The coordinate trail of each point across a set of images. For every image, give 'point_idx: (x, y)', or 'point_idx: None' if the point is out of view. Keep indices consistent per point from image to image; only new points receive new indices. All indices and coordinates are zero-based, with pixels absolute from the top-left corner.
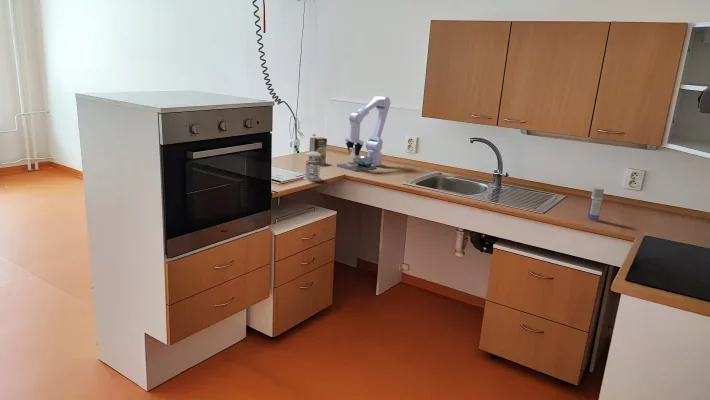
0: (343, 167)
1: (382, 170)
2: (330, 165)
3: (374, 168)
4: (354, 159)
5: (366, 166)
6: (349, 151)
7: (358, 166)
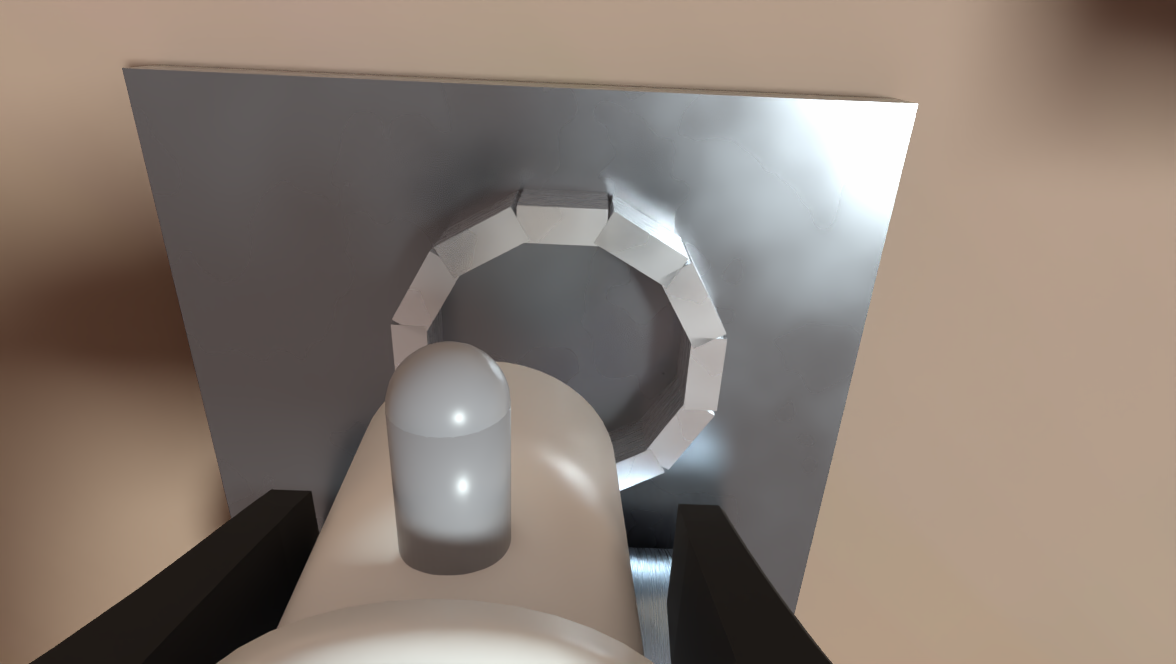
0: (629, 88)
1: None
2: (1100, 20)
3: None
4: None
5: None
6: (389, 382)
7: None
